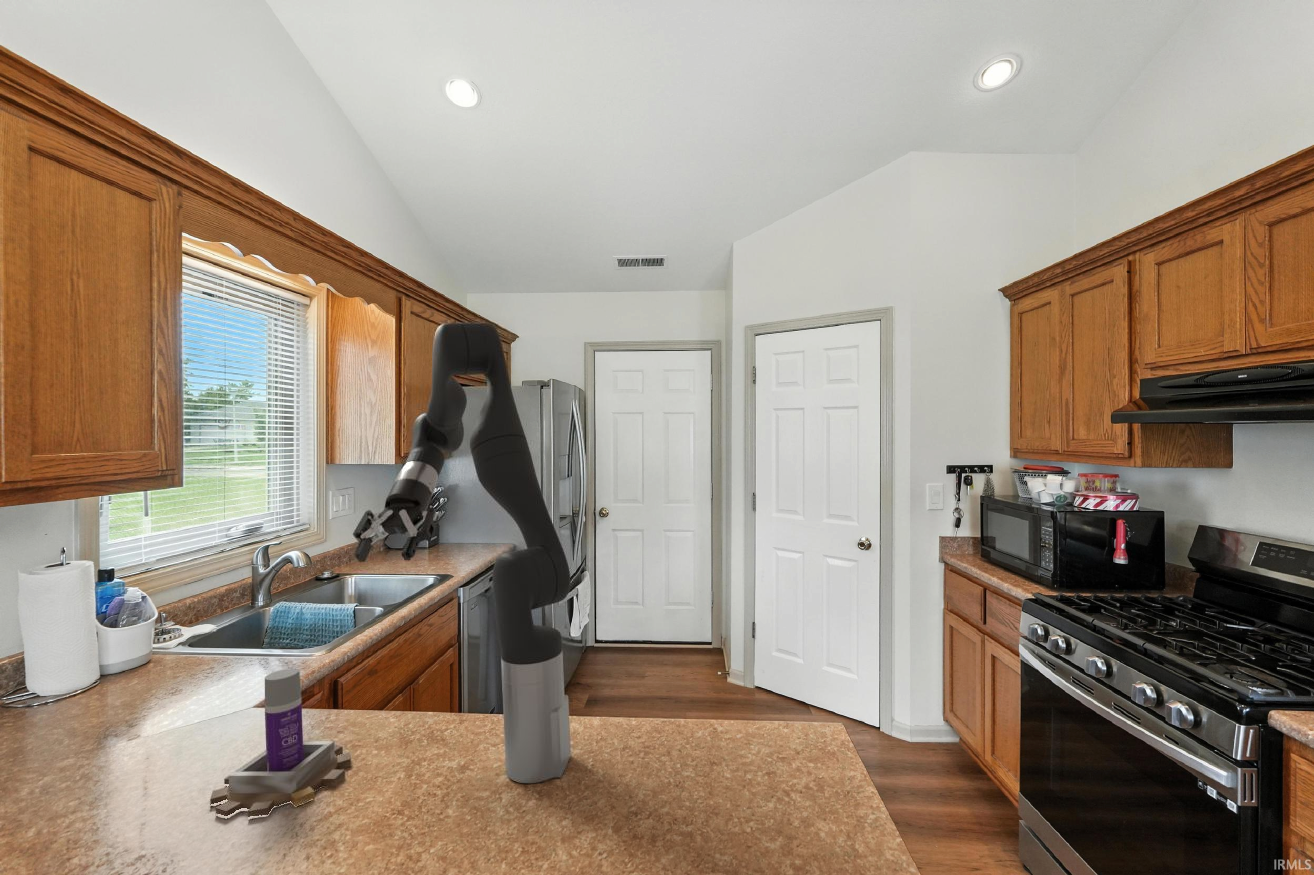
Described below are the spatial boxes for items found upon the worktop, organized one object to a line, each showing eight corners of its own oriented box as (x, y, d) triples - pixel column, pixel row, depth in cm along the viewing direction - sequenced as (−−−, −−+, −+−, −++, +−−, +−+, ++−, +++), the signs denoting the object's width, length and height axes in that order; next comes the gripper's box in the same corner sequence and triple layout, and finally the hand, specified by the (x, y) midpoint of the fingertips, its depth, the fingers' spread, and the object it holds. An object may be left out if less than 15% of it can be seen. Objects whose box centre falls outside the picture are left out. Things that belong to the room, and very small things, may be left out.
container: (285, 783, 83) (282, 680, 83) (259, 781, 84) (255, 679, 84) (311, 765, 88) (307, 668, 88) (285, 763, 89) (282, 667, 89)
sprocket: (373, 751, 94) (373, 728, 94) (298, 820, 76) (297, 792, 76) (274, 751, 95) (273, 729, 95) (177, 819, 78) (177, 792, 78)
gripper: (370, 478, 110) (334, 548, 98) (440, 475, 109) (412, 545, 97) (387, 503, 115) (354, 572, 103) (454, 500, 114) (428, 569, 102)
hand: (382, 559), depth 100 cm, fingers open, 8 cm apart
